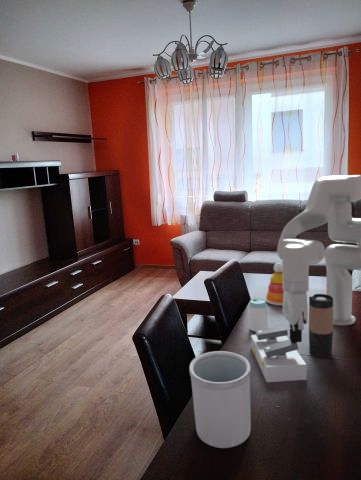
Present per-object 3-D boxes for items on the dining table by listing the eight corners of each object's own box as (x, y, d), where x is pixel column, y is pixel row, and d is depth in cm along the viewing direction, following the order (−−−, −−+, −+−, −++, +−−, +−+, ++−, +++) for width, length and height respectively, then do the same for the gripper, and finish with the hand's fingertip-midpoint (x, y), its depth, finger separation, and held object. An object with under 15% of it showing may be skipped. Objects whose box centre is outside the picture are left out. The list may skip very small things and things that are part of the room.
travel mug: (334, 359, 124) (335, 301, 120) (310, 358, 126) (310, 301, 122) (330, 348, 131) (331, 293, 128) (307, 347, 133) (307, 293, 129)
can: (247, 332, 148) (247, 303, 145) (251, 324, 154) (250, 297, 152) (265, 334, 145) (265, 304, 143) (268, 326, 151) (268, 298, 149)
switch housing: (250, 348, 135) (250, 331, 134) (284, 345, 135) (284, 329, 134) (265, 382, 113) (265, 363, 112) (306, 379, 113) (306, 360, 112)
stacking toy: (299, 299, 179) (299, 259, 176) (291, 309, 168) (291, 267, 164) (270, 295, 187) (270, 257, 183) (260, 305, 175) (260, 264, 172)
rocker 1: (256, 335, 130) (255, 329, 130) (284, 330, 130) (284, 325, 129) (258, 340, 126) (257, 334, 126) (287, 335, 126) (287, 329, 126)
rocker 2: (264, 352, 119) (262, 346, 119) (294, 343, 119) (293, 337, 119) (267, 358, 116) (265, 351, 115) (298, 349, 115) (297, 343, 115)
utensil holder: (213, 460, 85) (210, 390, 81) (182, 422, 98) (178, 361, 94) (264, 435, 91) (263, 370, 88) (229, 403, 104) (227, 345, 101)
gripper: (276, 278, 120) (276, 331, 124) (291, 293, 106) (291, 353, 109) (299, 276, 121) (299, 330, 124) (317, 292, 106) (317, 351, 109)
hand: (295, 341), depth 117 cm, fingers closed
